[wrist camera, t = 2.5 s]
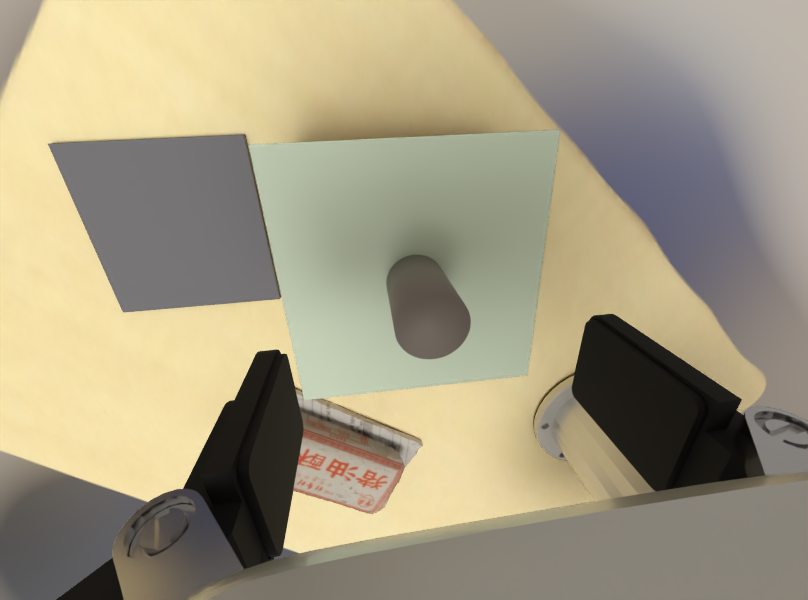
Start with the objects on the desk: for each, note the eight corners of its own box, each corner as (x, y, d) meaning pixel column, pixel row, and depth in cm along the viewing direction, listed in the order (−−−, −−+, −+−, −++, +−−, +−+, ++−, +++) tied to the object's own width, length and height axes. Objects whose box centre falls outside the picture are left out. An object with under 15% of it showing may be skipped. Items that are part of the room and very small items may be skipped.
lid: (540, 131, 18) (638, 122, 11) (514, 357, 24) (570, 434, 17) (261, 145, 17) (197, 143, 10) (308, 380, 23) (288, 470, 16)
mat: (245, 134, 23) (243, 134, 22) (280, 296, 28) (279, 298, 27) (53, 143, 22) (47, 143, 21) (126, 310, 27) (123, 312, 26)
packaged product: (201, 485, 29) (248, 407, 27) (222, 442, 34) (264, 370, 31) (376, 535, 35) (430, 475, 32) (374, 492, 39) (422, 436, 37)
